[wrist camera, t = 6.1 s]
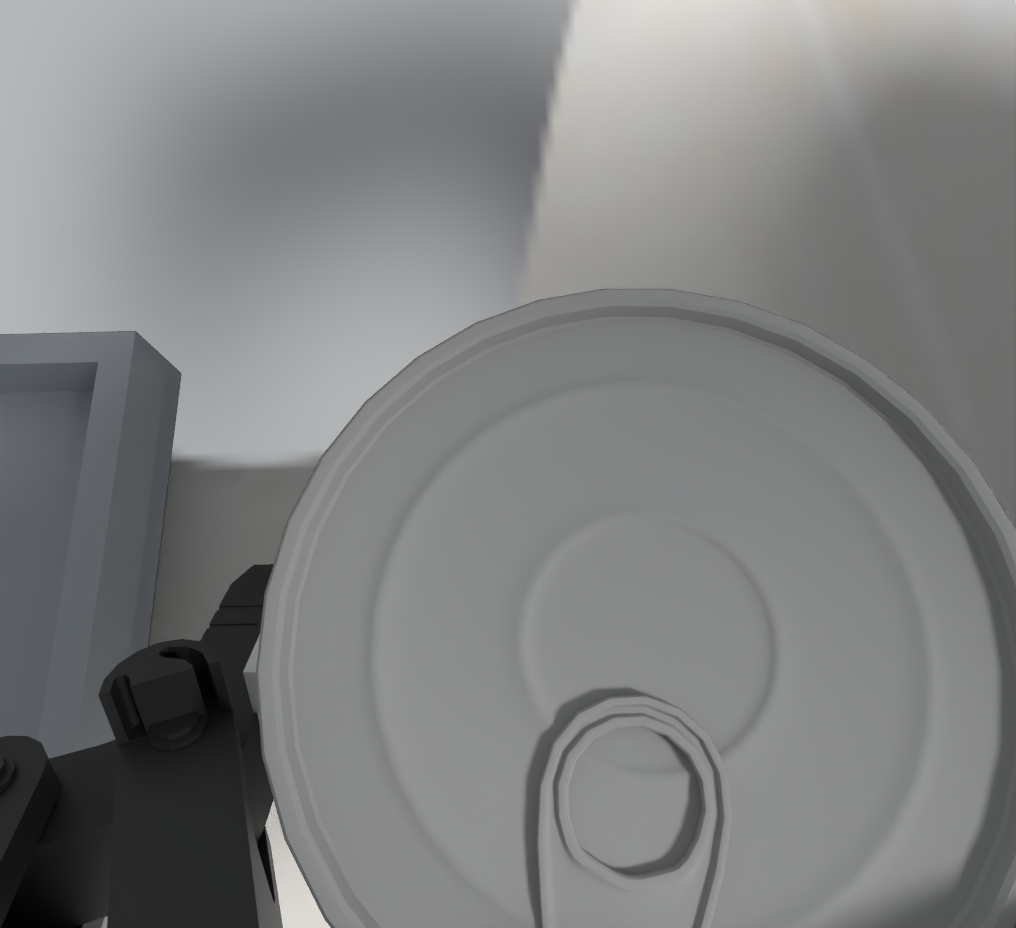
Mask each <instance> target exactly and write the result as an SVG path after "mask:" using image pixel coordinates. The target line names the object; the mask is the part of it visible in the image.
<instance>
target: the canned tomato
mask: <svg viewBox="0 0 1016 928" xmlns="http://www.w3.org/2000/svg"><path fill="white" fill-rule="evenodd" d="M256 685H257V698H258V711H259V725H260V738H261V751H262V758H263V762H264V765H265V769H266V773H267V776H268V780H269V784H270V787H271V791H272V795H273V798H274V802H275V806H276V809H277V813H278V817H279V820H280V824H281V828H282V831H283V835H284V839H285V841H286V843H287V845H288V847H289V849H290V851H291V853H292V855H293V857H294V859H295V861H296V863H297V865H298V867H299V869H300V871H301V873H302V875H303V877H304V879H305V881H306V883H307V885H308V887H309V889H310V891H311V893H312V895H313V897H314V899H315V901H316V903H317V905H318V907H319V909H320V911H321V913H322V915H323V917H324V919H325V921H326V922H327V923H328V924H329V926H330V927H331V928H1015V925H1016V529H1015V528H1014V526H1013V525H1012V523H1011V521H1010V520H1009V518H1008V517H1007V515H1006V513H1005V512H1004V510H1003V508H1002V507H1001V505H1000V504H999V502H998V500H997V499H996V497H995V496H994V494H993V492H992V491H991V489H990V487H989V486H988V484H987V483H986V481H985V479H984V478H983V476H982V475H981V473H980V471H979V470H978V468H977V466H976V465H975V463H974V462H973V461H972V460H971V459H970V458H969V456H968V455H967V454H966V453H965V452H964V451H963V450H962V449H961V447H960V446H959V445H958V444H957V443H956V442H955V441H954V439H953V438H952V437H951V436H950V435H949V434H948V433H947V432H946V430H945V429H944V428H943V427H942V426H941V425H940V424H939V423H938V421H937V420H936V419H935V418H934V417H933V416H932V415H931V413H930V412H929V411H928V410H927V409H926V408H925V407H924V406H923V405H922V404H921V403H919V402H918V401H917V400H916V399H914V398H913V397H912V396H911V395H910V394H908V393H907V392H906V391H905V390H903V389H902V388H901V387H900V386H898V385H897V384H896V383H895V382H893V381H892V380H891V379H890V378H888V377H887V376H886V375H885V374H884V373H882V372H881V371H880V370H879V369H877V368H876V367H875V366H874V365H872V364H871V363H870V362H869V361H867V360H866V359H864V358H862V357H861V356H859V355H857V354H855V353H853V352H852V351H850V350H848V349H846V348H845V347H843V346H841V345H839V344H837V343H836V342H834V341H832V340H830V339H829V338H827V337H825V336H823V335H821V334H820V333H818V332H816V331H814V330H813V329H811V328H809V327H807V326H806V325H803V324H801V323H798V322H795V321H792V320H789V319H787V318H784V317H781V316H778V315H776V314H773V313H770V312H767V311H764V310H762V309H759V308H756V307H753V306H751V305H748V304H745V303H742V302H740V301H735V300H729V299H723V298H718V297H712V296H707V295H701V294H695V293H690V292H684V291H679V290H673V289H600V290H595V291H589V292H583V293H577V294H571V295H565V296H560V297H554V298H548V299H542V300H537V301H535V302H532V303H529V304H526V305H524V306H521V307H518V308H515V309H513V310H510V311H507V312H504V313H501V314H499V315H496V316H493V317H490V318H488V319H485V320H482V321H479V322H477V323H475V324H473V325H471V326H469V327H468V328H466V329H464V330H463V331H461V332H459V333H457V334H456V335H454V336H452V337H451V338H449V339H447V340H445V341H444V342H442V343H440V344H439V345H437V346H435V347H434V348H432V349H430V350H428V351H427V352H425V353H423V354H422V355H420V356H418V357H417V358H416V359H414V360H413V361H412V362H411V363H410V364H409V365H407V366H406V367H405V368H404V369H403V370H402V371H401V372H399V373H398V374H397V375H396V376H395V377H393V378H392V379H391V380H390V381H389V382H388V383H387V384H385V385H384V386H383V387H382V388H381V389H380V390H378V391H377V392H376V393H375V394H374V395H373V396H371V397H370V398H369V399H368V400H367V401H366V402H365V403H364V404H363V405H362V407H361V408H360V409H359V410H358V412H357V413H356V414H355V415H354V417H353V418H352V419H351V420H350V422H349V423H348V424H347V425H346V427H345V428H344V429H343V430H342V432H341V433H340V434H339V435H338V437H337V438H336V439H335V440H334V442H333V443H332V444H331V445H330V447H329V448H328V449H327V450H326V452H325V453H324V454H323V455H322V457H321V458H320V460H319V462H318V464H317V466H316V468H315V470H314V472H313V473H312V475H311V477H310V479H309V481H308V483H307V485H306V487H305V489H304V490H303V492H302V494H301V496H300V498H299V500H298V502H297V504H296V505H295V507H294V509H293V511H292V513H291V515H290V517H289V519H288V521H287V523H286V526H285V530H284V533H283V536H282V539H281V543H280V546H279V549H278V552H277V555H276V559H275V562H274V565H273V568H272V572H271V575H270V578H269V581H268V584H267V588H266V591H265V594H264V603H263V612H262V621H261V630H260V638H259V647H258V656H257V665H256Z"/></svg>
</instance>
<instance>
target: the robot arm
mask: <svg viewBox="0 0 1016 928" xmlns="http://www.w3.org/2000/svg"><path fill="white" fill-rule="evenodd" d="M273 565H274V564H269V565H253V566H252V567H251V568H250V569H248V570H247V571H246V572H245V573H244V574H243V575H241V576H240V577H239V578H238V579H237V580H236V581H234V582H233V583H232V584H231V585H230V587H229V589H228V591H227V593H226V595H225V597H224V598H223V600H222V602H221V604H220V606H219V610H217V611H216V613H215V615H214V617H213V619H212V621H211V622H210V628H209V629H207V630H206V632H205V633H204V635H203V637H202V639H201V641H192V640H184V639H180V640H174V641H167V642H160V643H158V644H155V645H152V646H150V647H147V648H144V649H142V650H139V651H137V652H136V653H134V654H132V655H131V656H129V657H128V658H126V659H125V660H123V661H122V662H120V663H119V664H118V665H117V666H116V667H115V668H114V669H113V670H112V671H111V672H110V673H109V674H108V675H107V677H106V678H105V679H104V681H103V683H102V686H101V689H100V691H99V694H98V696H99V699H100V701H101V704H102V706H103V709H104V711H105V714H106V716H107V719H108V721H109V724H110V726H111V729H112V731H113V734H114V736H115V739H116V740H113V741H110V742H107V743H104V744H101V745H98V746H94V747H91V748H87V749H83V750H79V751H76V752H72V753H68V754H64V755H61V756H57V757H53V758H48V756H47V754H46V751H45V749H44V747H43V745H42V743H41V742H39V741H37V740H35V739H33V738H31V737H29V736H4V737H0V928H101V927H102V924H103V921H104V918H105V917H106V916H108V919H107V928H283V926H282V919H281V913H280V906H279V899H278V892H277V886H276V879H275V872H274V866H273V859H272V852H271V845H270V841H269V837H268V834H267V830H266V827H265V824H266V821H267V818H268V815H269V812H270V809H271V806H272V802H273V799H274V798H273V795H272V791H271V787H270V784H269V780H268V776H267V773H266V769H265V765H264V762H263V758H262V751H261V738H260V725H259V711H258V698H257V685H256V665H257V656H258V647H259V638H260V630H261V621H262V612H263V603H264V594H265V591H266V588H267V584H268V581H269V578H270V575H271V572H272V568H273ZM1015 928H1016V925H1015Z"/></svg>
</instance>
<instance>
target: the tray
mask: <svg viewBox="0 0 1016 928" xmlns="http://www.w3.org/2000/svg"><path fill="white" fill-rule="evenodd" d="M180 381H181V373H180V372H179V371H178V370H177V369H176V368H175V367H174V366H173V365H172V364H171V363H169V361H167V360H166V359H165V358H164V357H163V356H162V355H161V354H160V353H159V352H158V351H157V350H155V349H154V348H153V347H152V346H151V345H150V344H149V343H148V342H147V341H146V340H145V339H144V338H143V337H141V336H140V335H139V334H138V333H137V332H136V331H121V332H120V331H118V332H79V333H39V334H0V737H4V736H29V737H31V738H33V739H35V740H37V741H39V742H41V743H42V745H43V747H44V749H45V751H46V754H47V756H48V758H53V757H57V756H61V755H64V754H68V753H72V752H76V751H79V750H83V749H87V748H91V747H94V746H98V745H101V744H104V743H107V742H110V741H113V740H116V739H115V736H114V734H113V731H112V729H111V726H110V724H109V721H108V719H107V716H106V714H105V711H104V709H103V706H102V704H101V701H100V699H99V696H98V694H99V691H100V689H101V686H102V683H103V681H104V679H105V678H106V677H107V675H108V674H109V673H110V672H111V671H112V670H113V669H114V668H115V667H116V666H117V665H118V664H119V663H120V662H122V661H123V660H125V659H126V658H128V657H129V656H131V655H132V654H134V653H136V652H137V651H139V650H142V649H144V648H147V647H148V642H149V634H150V625H151V617H152V609H153V601H154V593H155V585H156V576H157V568H158V560H159V552H160V544H161V536H162V528H163V519H164V511H165V503H166V495H167V487H168V479H169V470H170V462H171V454H172V446H173V437H174V430H175V421H176V413H177V405H178V397H179V389H180ZM107 919H108V916H106V917H105V918H104V921H103V924H102V927H101V928H107Z"/></svg>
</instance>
